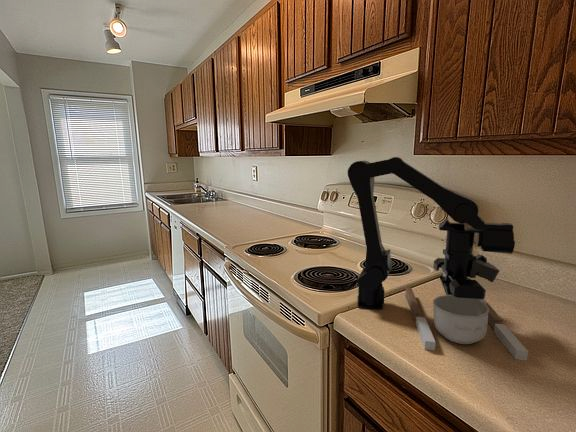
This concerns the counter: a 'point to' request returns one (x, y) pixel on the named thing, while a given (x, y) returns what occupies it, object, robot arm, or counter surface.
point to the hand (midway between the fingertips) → (453, 308)
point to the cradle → (416, 312)
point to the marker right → (510, 342)
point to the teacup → (461, 318)
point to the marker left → (425, 333)
